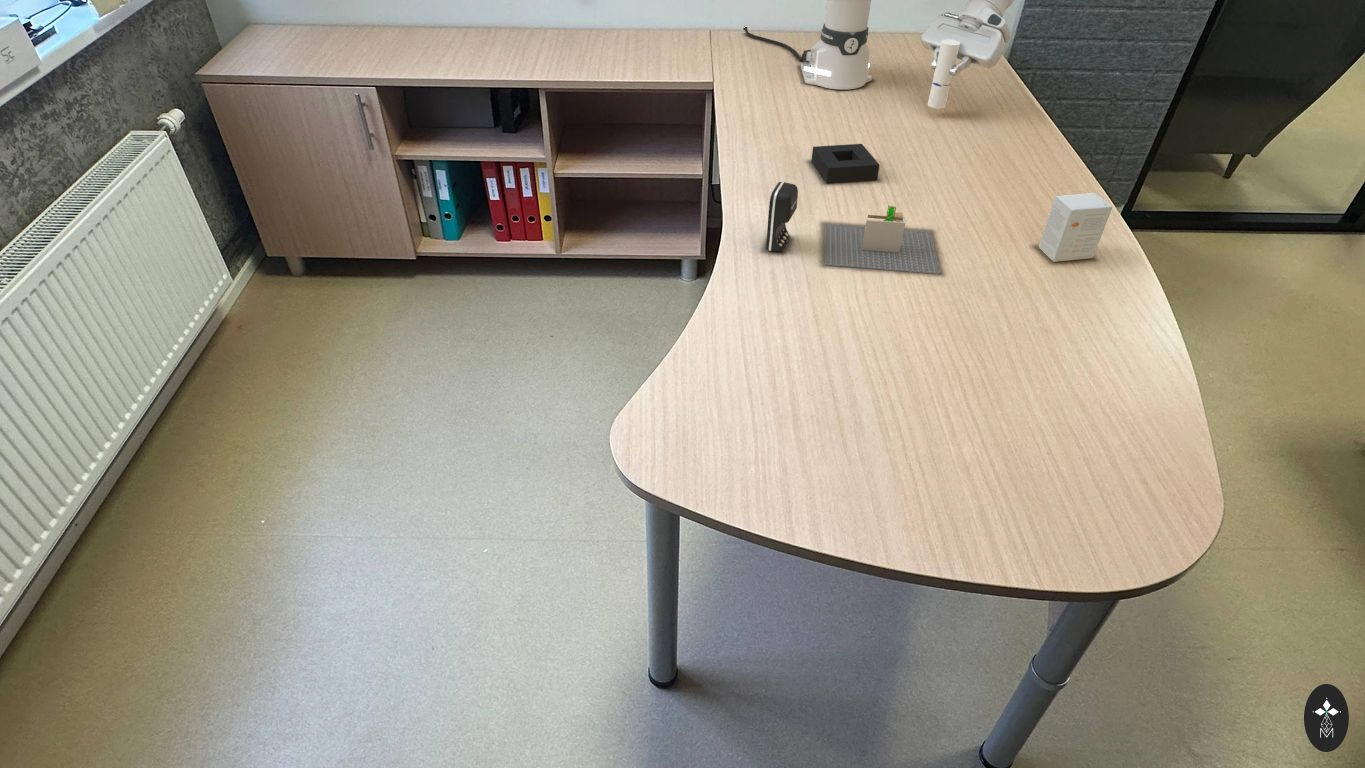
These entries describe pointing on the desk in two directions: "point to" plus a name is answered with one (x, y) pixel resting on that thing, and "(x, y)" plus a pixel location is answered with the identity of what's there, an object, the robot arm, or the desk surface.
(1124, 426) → the desk surface
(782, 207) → the black plastic handset
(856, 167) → the socket pad
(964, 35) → the robot arm
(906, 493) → the desk surface
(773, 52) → the desk surface
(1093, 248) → the small box
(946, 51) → the tube
